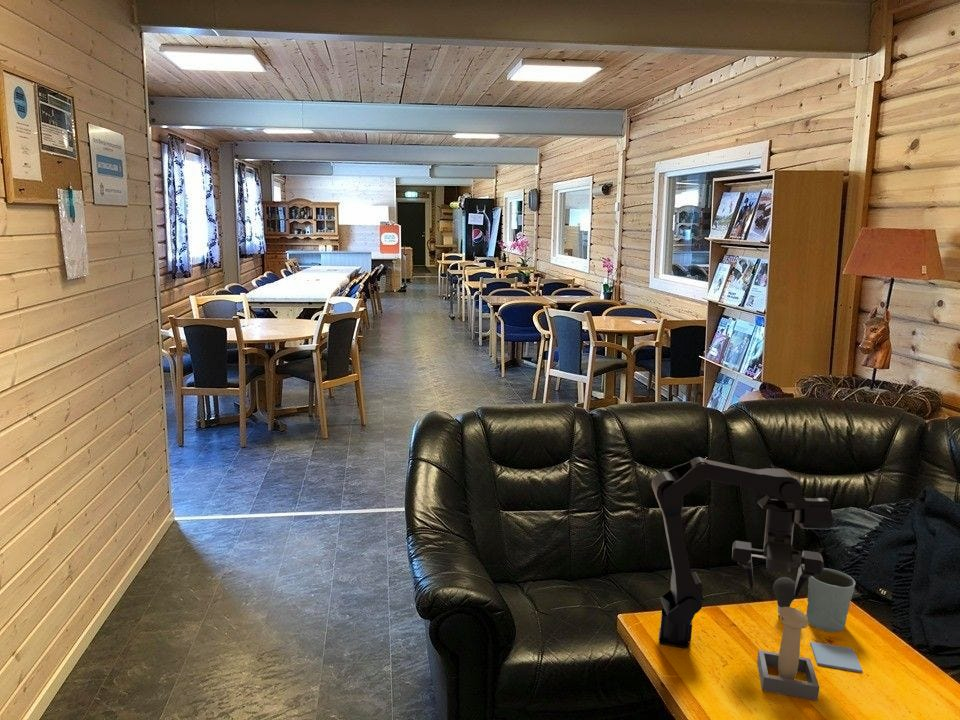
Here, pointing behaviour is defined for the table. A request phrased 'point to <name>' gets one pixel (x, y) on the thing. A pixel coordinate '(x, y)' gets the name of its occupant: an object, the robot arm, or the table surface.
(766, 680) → the grey square frame
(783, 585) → the light bulb
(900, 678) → the table surface
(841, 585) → the grey cup
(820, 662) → the mat
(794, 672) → the handle
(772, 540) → the robot arm
